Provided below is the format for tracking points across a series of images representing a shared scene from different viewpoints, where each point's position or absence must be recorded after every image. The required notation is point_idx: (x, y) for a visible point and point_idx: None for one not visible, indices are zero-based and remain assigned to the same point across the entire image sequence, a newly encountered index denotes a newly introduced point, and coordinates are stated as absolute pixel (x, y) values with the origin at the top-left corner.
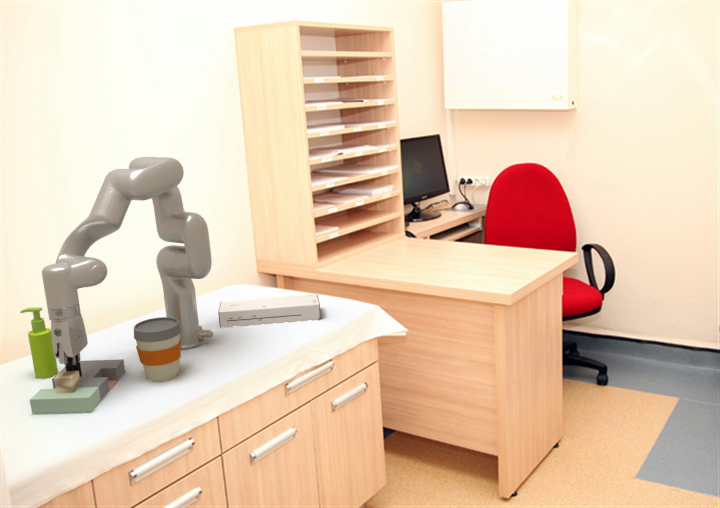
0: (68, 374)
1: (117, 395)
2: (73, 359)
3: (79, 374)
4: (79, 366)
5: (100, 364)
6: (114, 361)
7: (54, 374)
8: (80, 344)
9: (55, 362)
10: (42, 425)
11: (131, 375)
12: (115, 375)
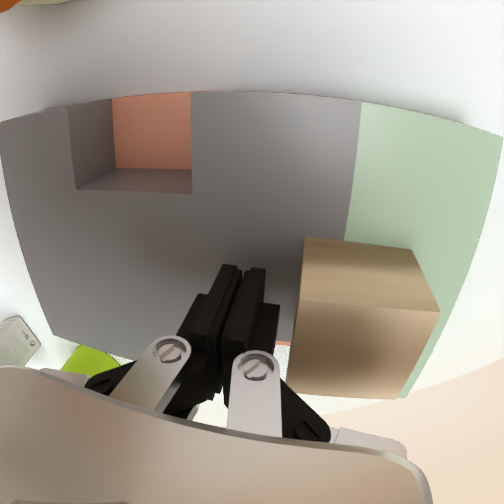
0: (358, 348)
1: (283, 29)
2: (279, 411)
3: (252, 279)
4: (215, 312)
5: (43, 213)
6: (13, 156)
7: (99, 351)
8: (125, 500)
9: (70, 370)
10: (497, 292)
11: (66, 65)
12: (96, 108)
